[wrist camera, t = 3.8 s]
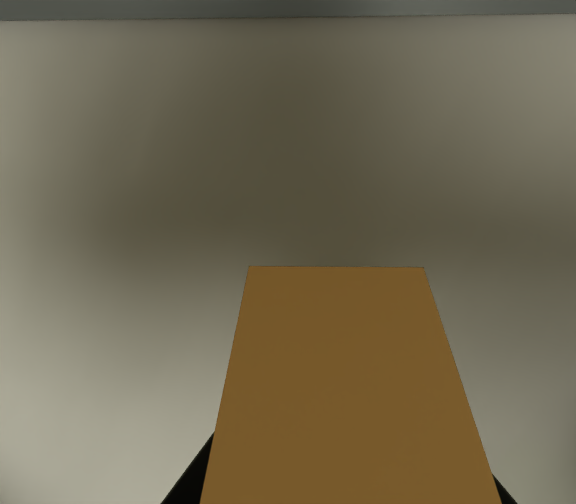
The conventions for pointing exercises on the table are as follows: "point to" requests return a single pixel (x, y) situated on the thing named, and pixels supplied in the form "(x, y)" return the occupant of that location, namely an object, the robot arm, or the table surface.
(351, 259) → the table surface
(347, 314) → the brown rectangular block
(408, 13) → the desk well
